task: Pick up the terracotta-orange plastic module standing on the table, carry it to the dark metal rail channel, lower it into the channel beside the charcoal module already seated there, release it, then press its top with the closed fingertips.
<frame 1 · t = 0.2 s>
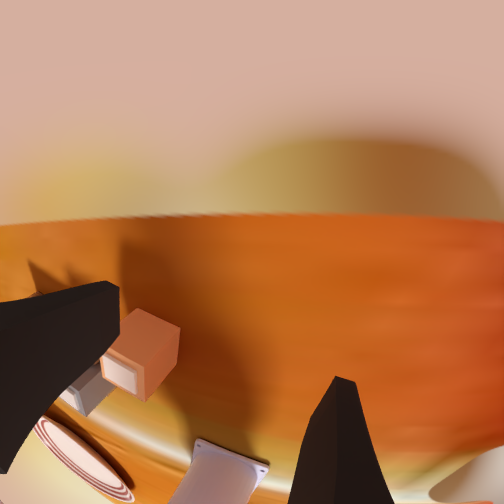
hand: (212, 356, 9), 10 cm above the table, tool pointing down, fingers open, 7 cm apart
dinner plate: (84, 452, 46), on the table
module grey: (98, 363, 26), point 1 cm above the table, touching rail
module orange: (157, 336, 24), on the table
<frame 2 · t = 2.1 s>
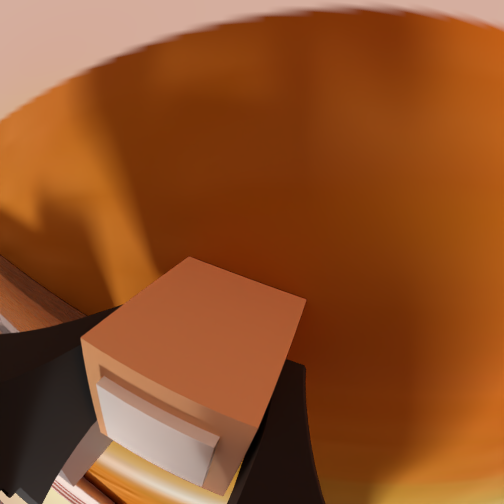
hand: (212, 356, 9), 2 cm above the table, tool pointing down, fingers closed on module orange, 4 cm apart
dinner plate: (79, 481, 33), on the table
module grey: (93, 383, 13), point 1 cm above the table, touching rail
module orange: (233, 327, 11), on the table, touching gripper
rail: (52, 332, 15), on the table
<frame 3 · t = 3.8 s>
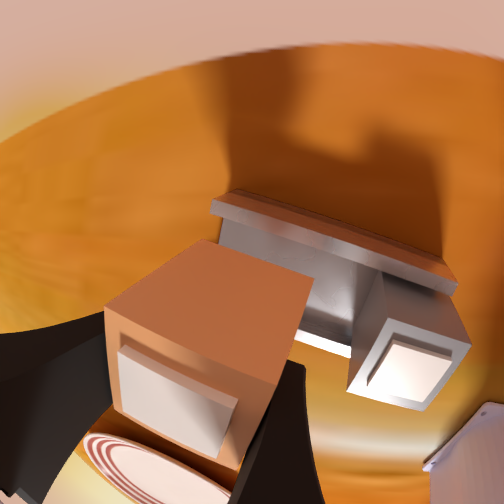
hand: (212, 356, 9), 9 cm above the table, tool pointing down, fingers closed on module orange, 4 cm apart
dinner plate: (174, 481, 34), on the table
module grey: (399, 310, 15), point 1 cm above the table, touching rail
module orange: (243, 307, 11), point 7 cm above the table, touching gripper
rail: (324, 275, 17), on the table
when the fingers open (4 cm above the table, at t = 5.3 s): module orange stays where it is, resting on rail.
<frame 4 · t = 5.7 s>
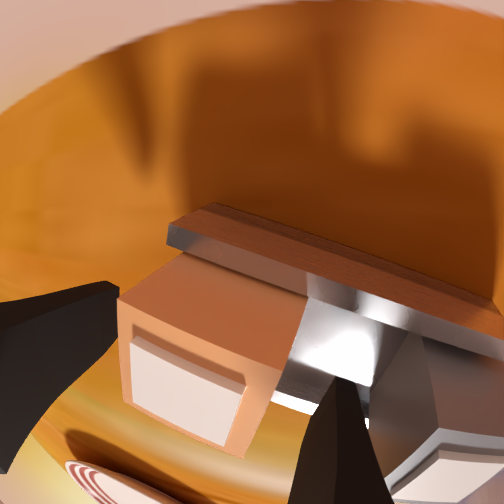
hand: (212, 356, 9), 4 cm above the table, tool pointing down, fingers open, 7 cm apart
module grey: (433, 372, 10), point 1 cm above the table, touching rail
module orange: (248, 301, 12), point 1 cm above the table, touching rail
rail: (335, 323, 12), on the table
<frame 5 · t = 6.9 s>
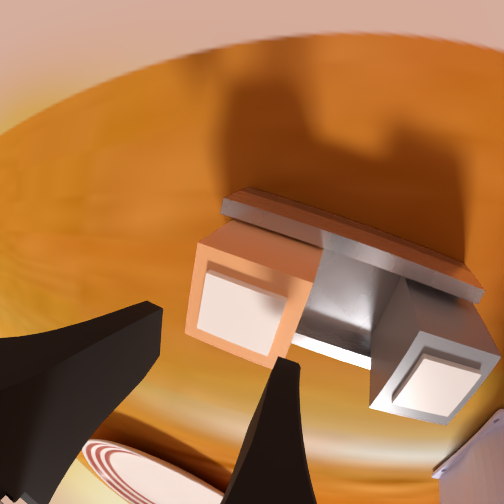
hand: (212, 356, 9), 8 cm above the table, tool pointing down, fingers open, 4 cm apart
dinner plate: (175, 487, 33), on the table
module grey: (420, 318, 14), point 1 cm above the table, touching rail
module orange: (275, 261, 15), point 1 cm above the table, touching rail
rail: (341, 280, 16), on the table
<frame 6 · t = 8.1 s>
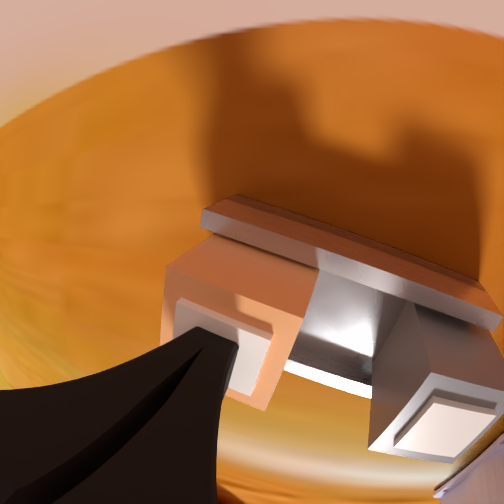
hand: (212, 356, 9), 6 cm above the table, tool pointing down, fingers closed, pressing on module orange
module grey: (428, 343, 12), point 1 cm above the table, touching rail
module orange: (265, 279, 13), point 1 cm above the table, touching gripper, rail
rail: (341, 300, 14), on the table
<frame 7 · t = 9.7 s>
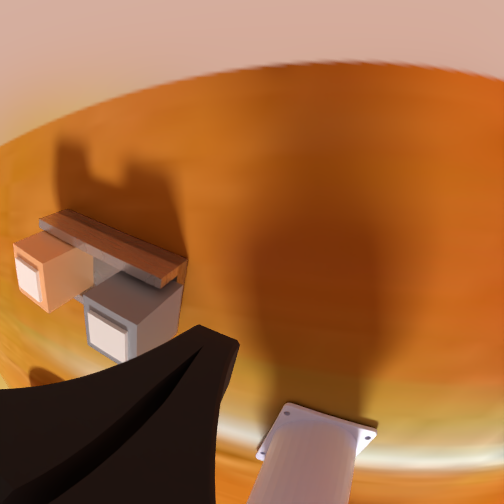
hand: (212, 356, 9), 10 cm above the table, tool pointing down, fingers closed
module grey: (154, 298, 21), point 1 cm above the table, touching rail
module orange: (76, 254, 22), point 1 cm above the table, touching rail
rail: (116, 268, 23), on the table
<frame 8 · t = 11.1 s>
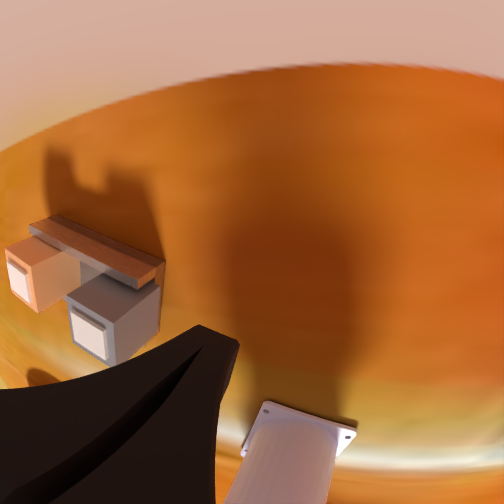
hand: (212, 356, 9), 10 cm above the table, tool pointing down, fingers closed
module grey: (135, 298, 21), point 1 cm above the table, touching rail
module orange: (64, 257, 23), point 1 cm above the table, touching rail
rail: (102, 270, 23), on the table
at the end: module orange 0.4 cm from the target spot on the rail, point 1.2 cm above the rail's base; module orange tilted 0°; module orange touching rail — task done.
